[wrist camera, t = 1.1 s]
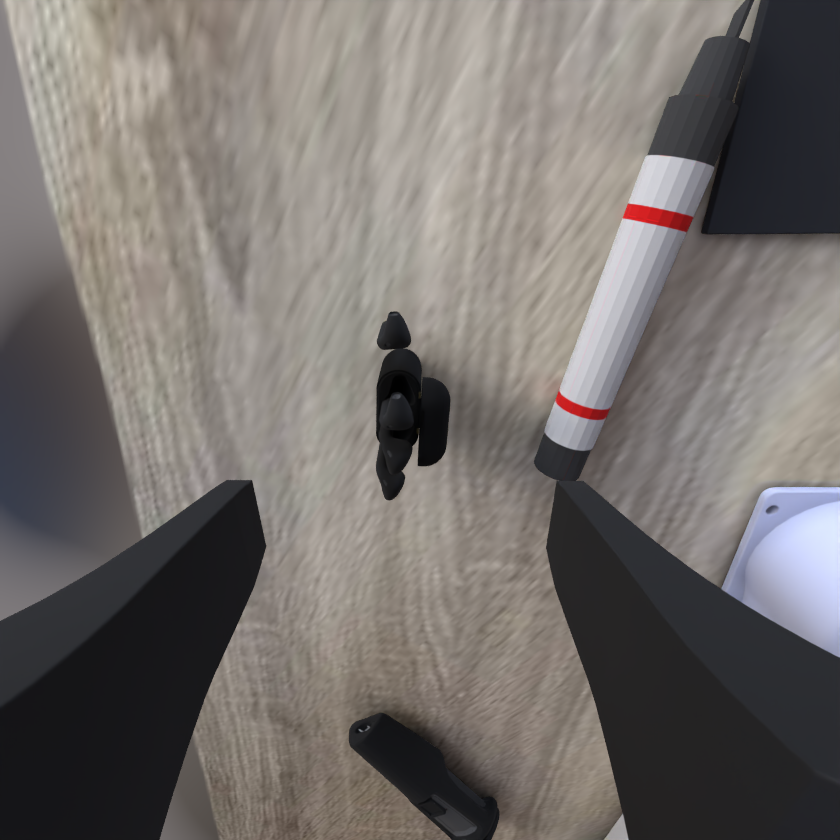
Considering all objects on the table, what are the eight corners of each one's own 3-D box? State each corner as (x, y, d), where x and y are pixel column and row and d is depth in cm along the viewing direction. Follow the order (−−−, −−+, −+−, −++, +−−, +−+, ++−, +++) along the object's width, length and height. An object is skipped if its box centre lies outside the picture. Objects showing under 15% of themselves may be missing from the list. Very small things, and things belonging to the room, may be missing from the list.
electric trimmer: (389, 683, 28) (384, 739, 25) (502, 799, 34) (508, 855, 31) (339, 701, 29) (329, 757, 26) (457, 811, 34) (460, 867, 32)
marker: (572, 459, 20) (586, 486, 18) (528, 451, 20) (539, 477, 18) (756, 16, 13) (808, -12, 11) (692, -2, 13) (734, -32, 11)
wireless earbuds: (384, 291, 17) (368, 330, 12) (451, 295, 17) (460, 335, 12) (381, 453, 20) (368, 531, 15) (438, 456, 20) (441, 534, 15)
